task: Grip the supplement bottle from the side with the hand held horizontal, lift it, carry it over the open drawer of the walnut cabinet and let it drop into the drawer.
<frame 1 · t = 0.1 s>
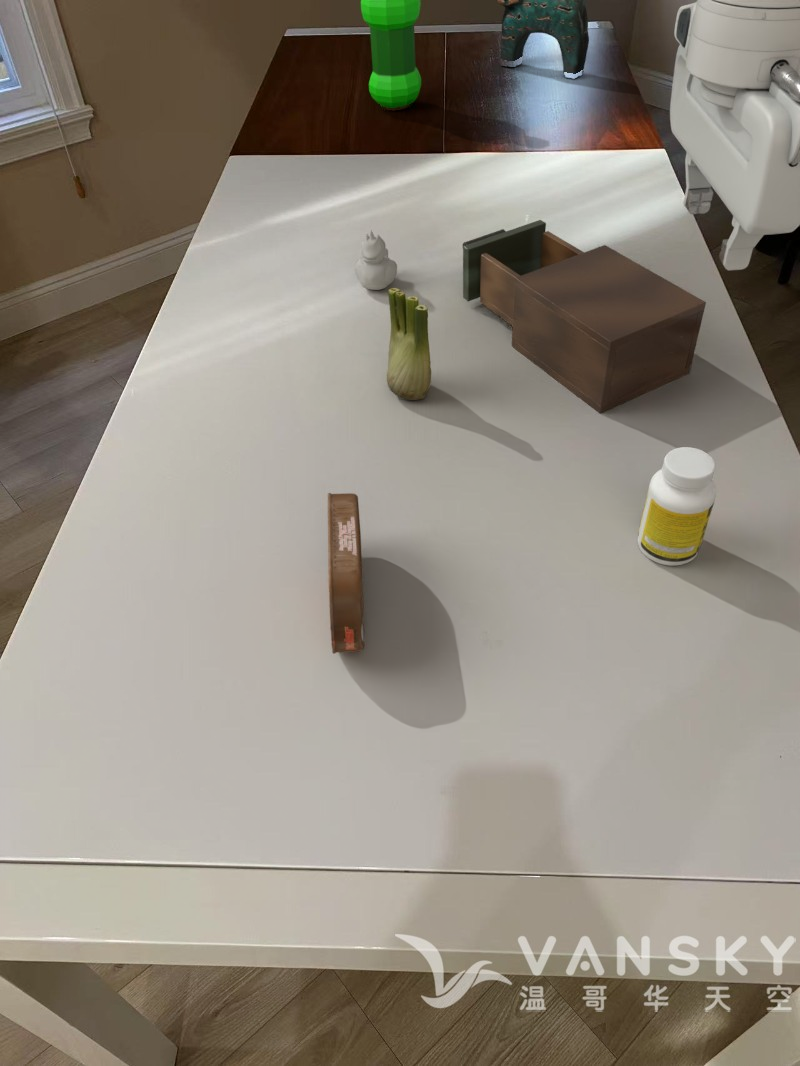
hand: (713, 236, 65), 23 cm above the table, tool pointing down, fingers open, 8 cm apart
supplement bottle: (667, 547, 74), on the table
fennel bulb: (409, 393, 92), on the table
cabinet: (597, 359, 95), on the table
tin: (350, 603, 71), on the table
ceramic cat: (539, 71, 166), on the table
drawer: (526, 275, 100), point 4 cm above the table, slide at 10.0 cm
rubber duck: (377, 285, 109), on the table
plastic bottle: (396, 107, 156), on the table
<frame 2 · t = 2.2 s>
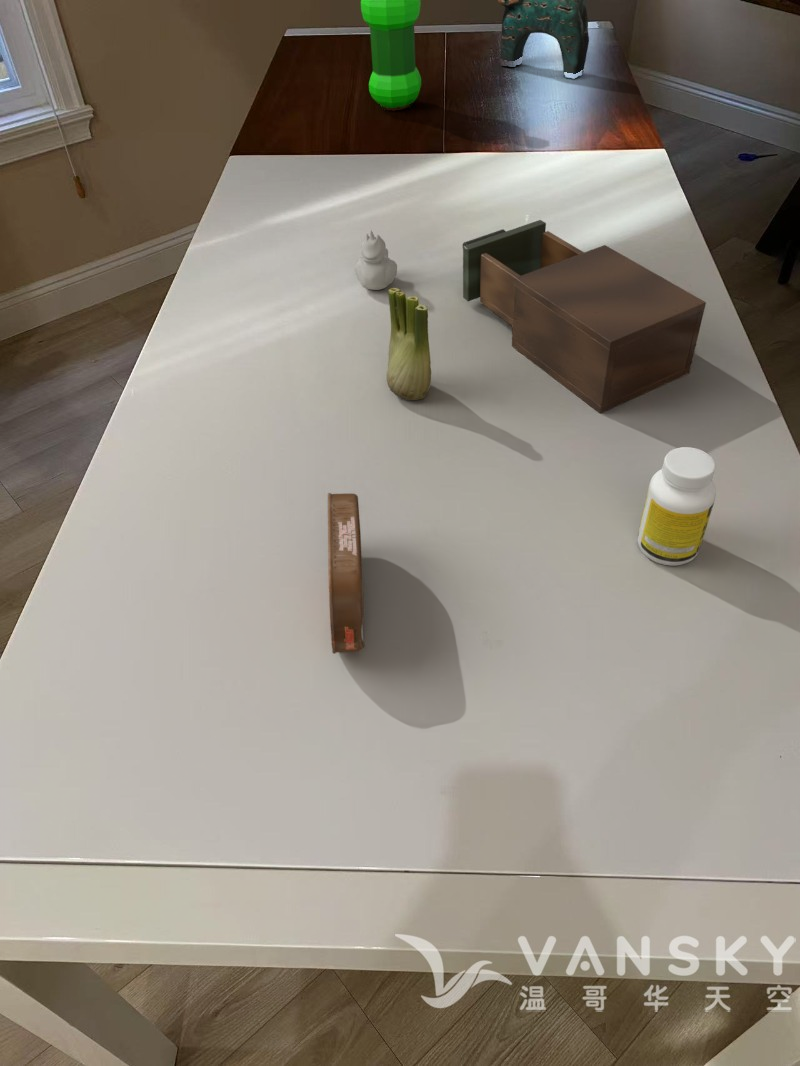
nothing on the table moved.
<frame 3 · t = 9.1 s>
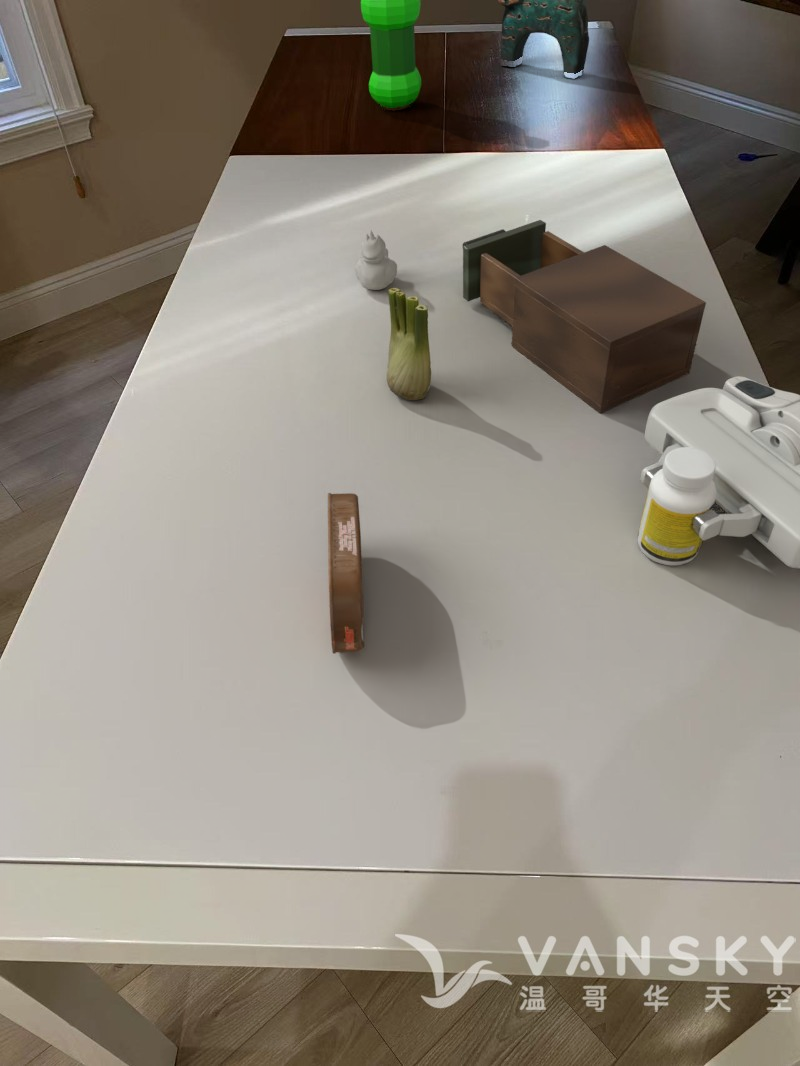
hand: (670, 503, 70), 6 cm above the table, tool horizontal, fingers closed on supplement bottle, 5 cm apart
supplement bottle: (667, 546, 74), on the table, touching gripper
everything else where it was.
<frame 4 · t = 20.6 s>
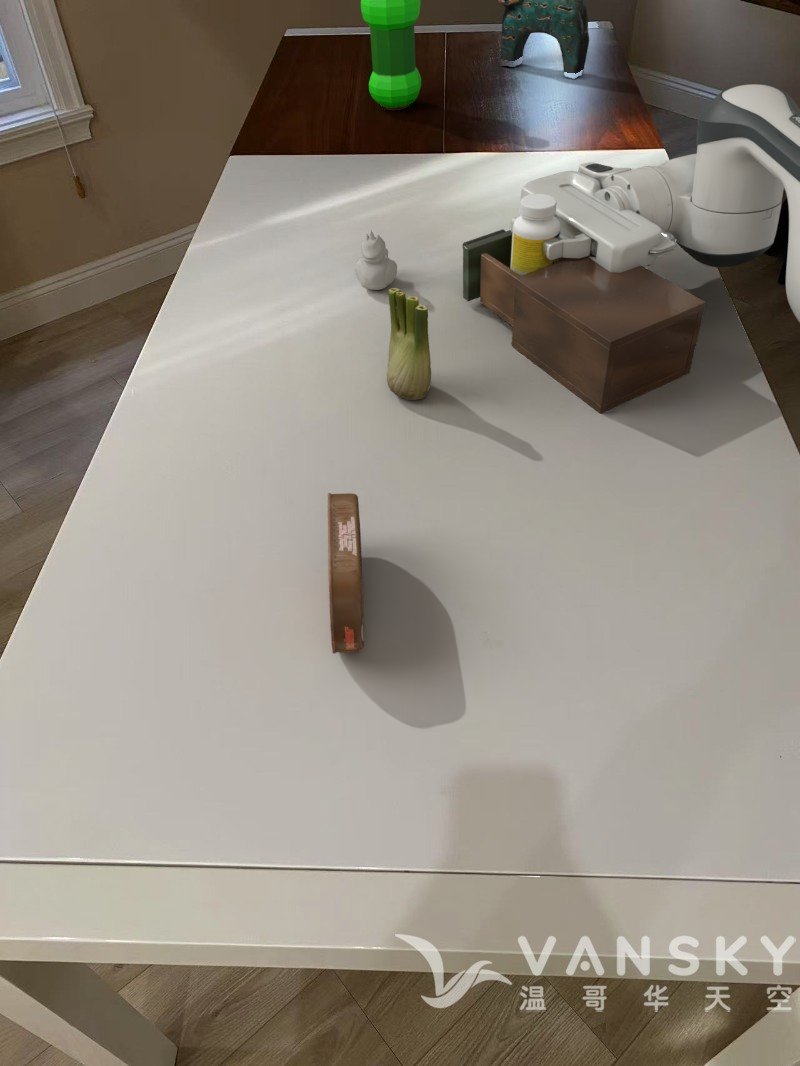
hand: (528, 239, 95), 10 cm above the table, tool horizontal, fingers closed on supplement bottle, 5 cm apart
supplement bottle: (532, 283, 99), point 4 cm above the table, touching gripper
everything else where it was.
when the fingers open (13 cm above the table, at t = 40.6 s): supplement bottle drops 5 cm, resting on drawer.
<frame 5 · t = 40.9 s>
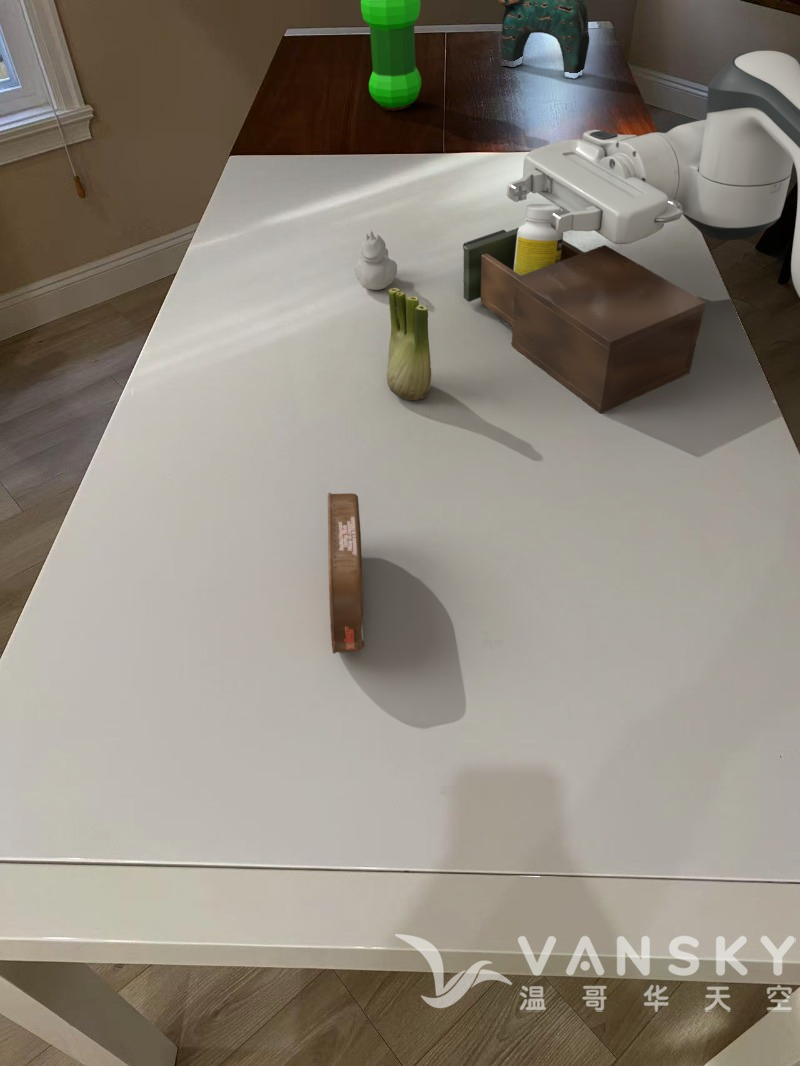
hand: (531, 207, 92), 13 cm above the table, tool horizontal, fingers open, 8 cm apart
supplement bottle: (533, 293, 100), point 3 cm above the table, touching drawer
drawer: (526, 275, 100), point 4 cm above the table, slide at 9.9 cm, touching supplement bottle
everything else where it was.
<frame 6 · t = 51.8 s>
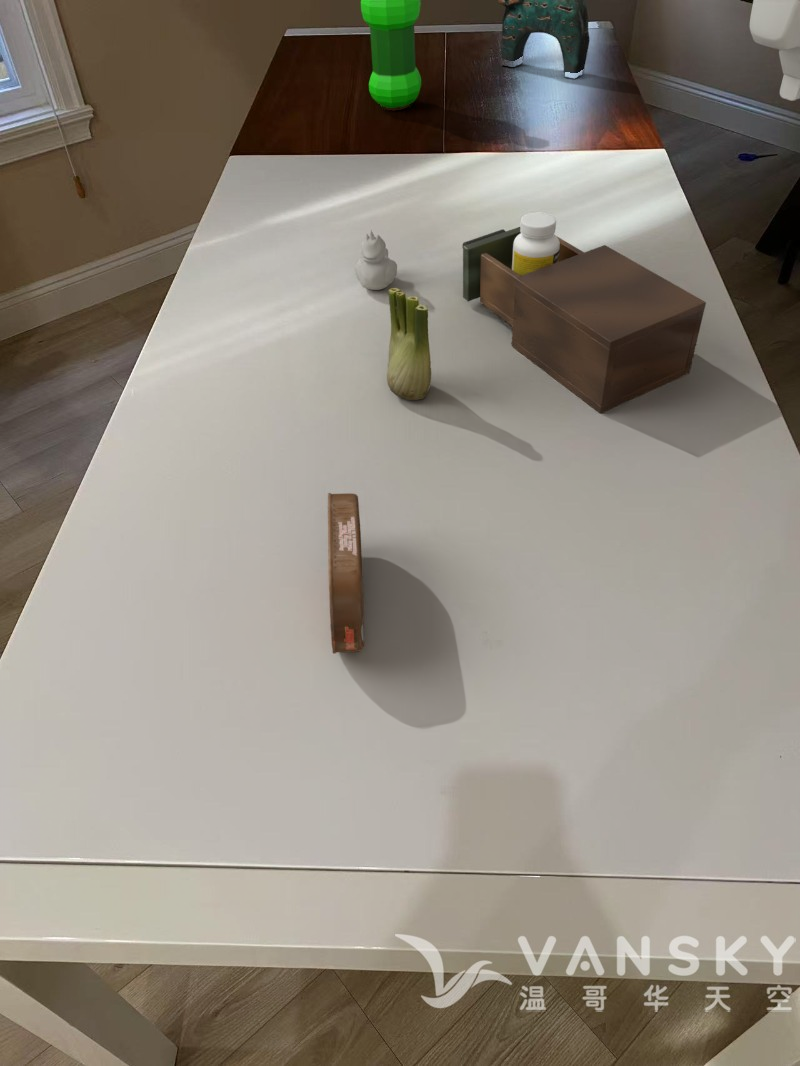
at the end: supplement bottle inside the target area in the cabinet (7.0 cm from its centre), point 1.9 cm above the cabinet's base; the gripper is holding nothing; drawer slide at 10.0 cm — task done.
